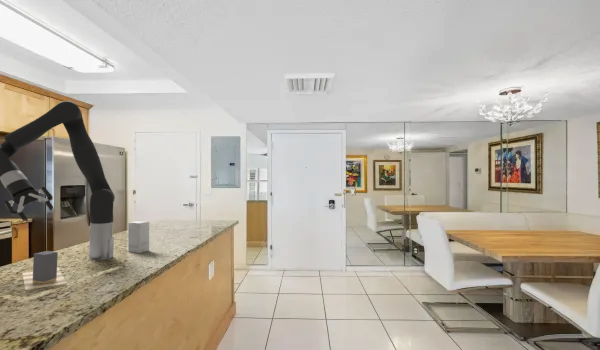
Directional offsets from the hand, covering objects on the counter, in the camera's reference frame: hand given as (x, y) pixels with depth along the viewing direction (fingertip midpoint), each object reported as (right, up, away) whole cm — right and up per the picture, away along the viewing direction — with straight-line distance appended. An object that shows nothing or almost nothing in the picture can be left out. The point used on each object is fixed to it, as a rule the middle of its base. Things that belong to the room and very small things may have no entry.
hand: (39, 215), depth 125 cm
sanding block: (+15, -22, -15) cm, 30 cm away
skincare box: (+22, -24, +35) cm, 48 cm away
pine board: (+12, -23, -12) cm, 29 cm away
